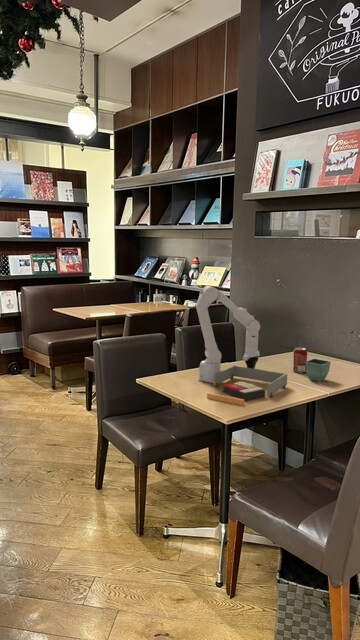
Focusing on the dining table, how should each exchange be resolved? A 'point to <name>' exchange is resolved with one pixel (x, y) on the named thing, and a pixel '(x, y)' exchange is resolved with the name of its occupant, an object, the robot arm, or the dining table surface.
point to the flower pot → (317, 369)
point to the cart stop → (225, 398)
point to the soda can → (299, 360)
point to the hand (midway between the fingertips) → (250, 372)
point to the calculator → (244, 391)
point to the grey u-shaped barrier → (253, 377)
